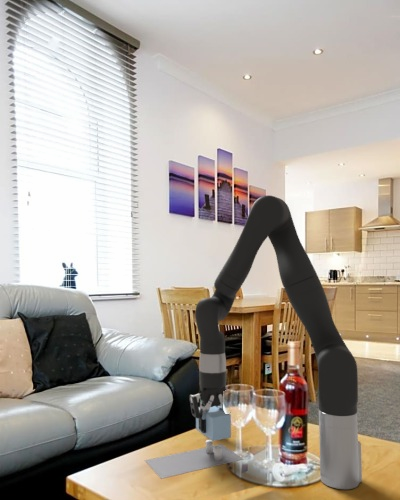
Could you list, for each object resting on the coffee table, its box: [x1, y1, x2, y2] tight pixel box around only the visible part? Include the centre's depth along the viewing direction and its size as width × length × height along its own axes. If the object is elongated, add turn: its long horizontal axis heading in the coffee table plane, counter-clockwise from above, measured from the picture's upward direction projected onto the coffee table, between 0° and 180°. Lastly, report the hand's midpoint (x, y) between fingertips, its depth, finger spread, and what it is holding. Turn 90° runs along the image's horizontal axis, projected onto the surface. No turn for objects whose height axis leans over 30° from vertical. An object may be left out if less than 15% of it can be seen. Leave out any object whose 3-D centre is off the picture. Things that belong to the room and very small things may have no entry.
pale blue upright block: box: [195, 406, 232, 442], centre depth 121 cm, size 6×10×6 cm, turn 27°
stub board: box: [144, 439, 244, 480], centre depth 118 cm, size 24×12×4 cm, turn 117°
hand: (213, 430), depth 121 cm, fingers closed on pale blue upright block, 5 cm apart
